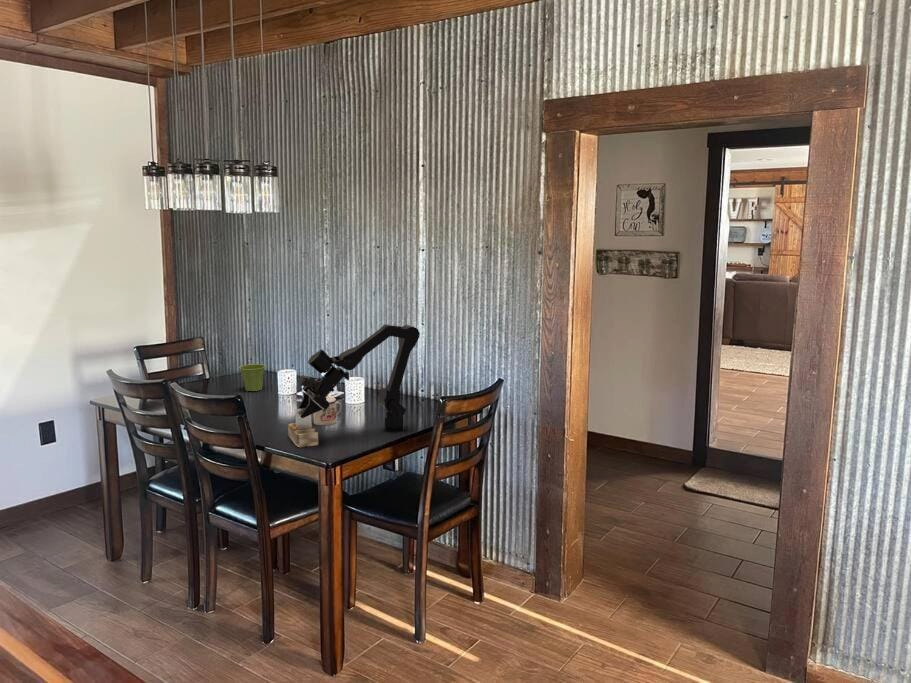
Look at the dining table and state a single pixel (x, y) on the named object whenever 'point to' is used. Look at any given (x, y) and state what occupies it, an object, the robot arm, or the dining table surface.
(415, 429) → the dining table surface
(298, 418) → the aluminium panel
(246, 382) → the plant pot
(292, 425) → the birch rack
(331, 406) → the teacup with lid
